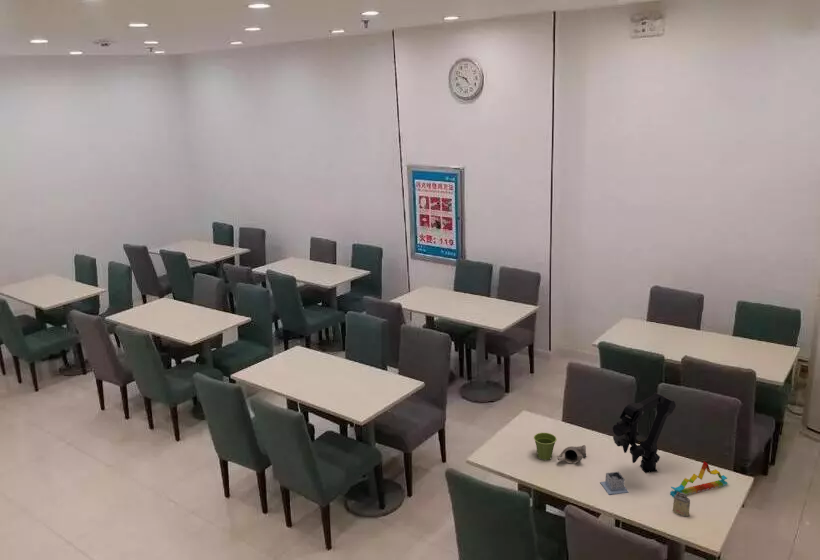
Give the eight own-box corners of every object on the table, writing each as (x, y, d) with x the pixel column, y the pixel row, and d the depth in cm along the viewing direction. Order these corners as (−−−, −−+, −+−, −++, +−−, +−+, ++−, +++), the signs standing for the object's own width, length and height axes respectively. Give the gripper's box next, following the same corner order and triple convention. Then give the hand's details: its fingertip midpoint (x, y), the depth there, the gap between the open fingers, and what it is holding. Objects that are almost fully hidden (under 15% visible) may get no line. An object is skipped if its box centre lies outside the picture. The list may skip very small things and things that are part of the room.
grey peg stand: (619, 480, 323) (620, 471, 321) (628, 492, 314) (629, 482, 312) (600, 483, 322) (600, 473, 320) (608, 495, 312) (609, 485, 311)
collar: (605, 483, 320) (605, 473, 319) (617, 482, 321) (618, 471, 319) (611, 491, 314) (611, 480, 312) (623, 489, 315) (624, 479, 313)
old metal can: (689, 513, 297) (691, 495, 294) (687, 518, 294) (689, 499, 291) (673, 508, 301) (675, 489, 298) (671, 512, 298) (673, 493, 296)
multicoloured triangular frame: (674, 498, 308) (677, 471, 304) (670, 495, 311) (672, 467, 307) (727, 486, 316) (730, 459, 312) (722, 482, 319) (725, 456, 315)
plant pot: (560, 457, 345) (561, 439, 341) (544, 465, 338) (545, 446, 335) (544, 448, 354) (544, 430, 351) (528, 455, 348) (529, 437, 344)
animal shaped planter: (564, 469, 348) (563, 470, 334) (555, 454, 351) (554, 454, 337) (590, 454, 347) (591, 454, 333) (581, 439, 350) (581, 438, 336)
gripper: (607, 422, 324) (605, 449, 329) (624, 441, 307) (622, 470, 311) (628, 419, 326) (626, 447, 330) (646, 438, 308) (644, 467, 313)
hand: (629, 457), depth 321 cm, fingers open, 9 cm apart
